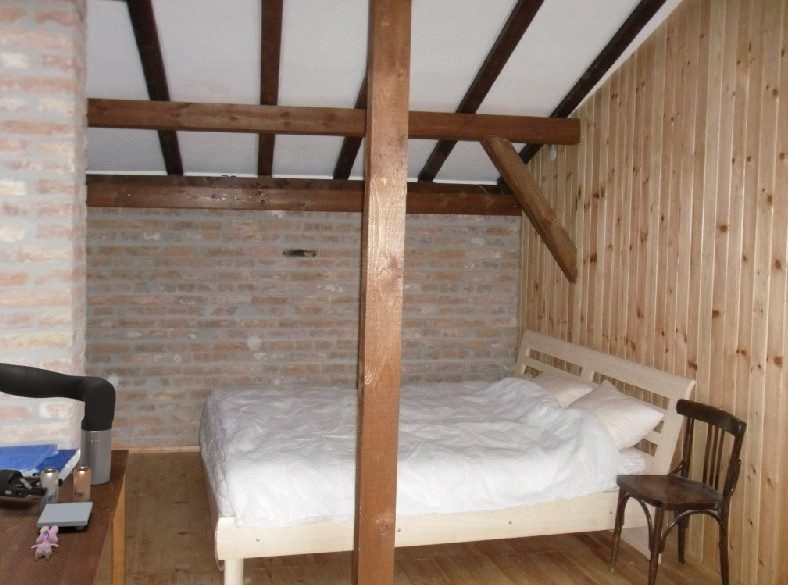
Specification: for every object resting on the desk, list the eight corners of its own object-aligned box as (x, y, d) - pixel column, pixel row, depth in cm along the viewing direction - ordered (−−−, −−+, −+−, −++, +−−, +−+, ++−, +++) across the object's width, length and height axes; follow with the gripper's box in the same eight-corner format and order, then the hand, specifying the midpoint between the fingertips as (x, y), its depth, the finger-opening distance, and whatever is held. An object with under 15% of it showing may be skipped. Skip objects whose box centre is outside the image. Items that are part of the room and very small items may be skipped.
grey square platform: (46, 515, 202) (46, 503, 202) (92, 513, 205) (92, 502, 205) (36, 534, 188) (37, 522, 188) (86, 532, 192) (86, 520, 192)
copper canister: (69, 506, 210) (71, 465, 209) (85, 502, 213) (87, 462, 212) (76, 510, 206) (77, 469, 206) (92, 507, 210) (93, 467, 209)
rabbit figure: (55, 565, 175) (64, 531, 189) (56, 543, 174) (64, 510, 188) (27, 567, 174) (37, 532, 187) (27, 544, 172) (37, 512, 186)
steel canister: (37, 508, 206) (38, 467, 205) (53, 505, 209) (55, 464, 209) (42, 513, 203) (44, 471, 202) (59, 510, 206) (61, 469, 205)
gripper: (-16, 477, 200) (39, 482, 198) (16, 462, 214) (68, 467, 212) (-17, 503, 200) (39, 509, 199) (15, 487, 214) (67, 492, 213)
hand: (53, 487), depth 206 cm, fingers open, 8 cm apart
